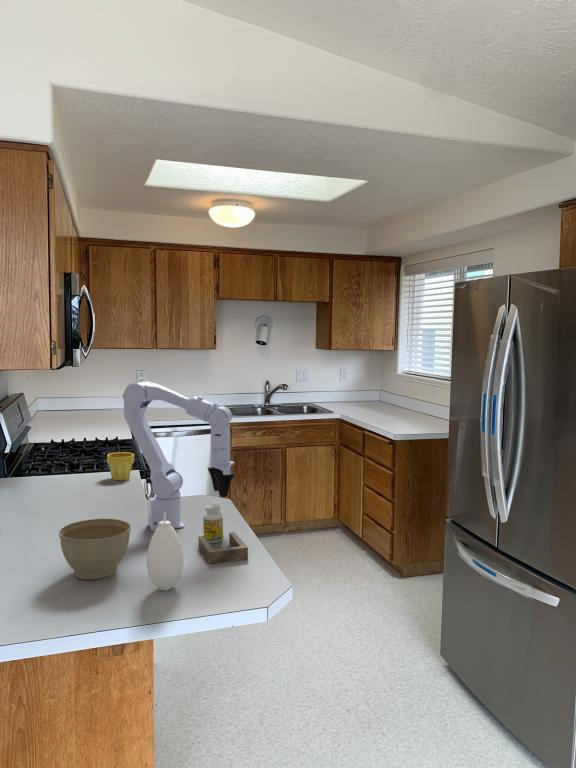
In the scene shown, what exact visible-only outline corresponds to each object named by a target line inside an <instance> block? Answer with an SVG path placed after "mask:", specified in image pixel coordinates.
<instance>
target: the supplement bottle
mask: <svg viewBox="0 0 576 768" xmlns="http://www.w3.org/2000/svg"><path fill="white" fill-rule="evenodd" d="M220 511H221V505H219V504H208V505H206V506H205V511H204V512H205V513H204V514H203V518H202V519H203V523H202V525H203V536H205V538H206V539H207V541H208V542H209V543H210V544H217V542H218V543H221V542H222V541H223V540H224V526H223V524H224V521H223V520H224V518H223V515H224V514H222V512H220ZM220 541H221V542H220Z"/></svg>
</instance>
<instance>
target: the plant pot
mask: <svg viewBox="0 0 576 768" xmlns="http://www.w3.org/2000/svg"><path fill="white" fill-rule="evenodd" d="M106 460H107V461H106V464H108V465H109V466H108V467H109V471H110V475H111V480H112V479H113V480H112V481H116V480H123V481H127V480H126V479H128V480H130V477H131V471H132V467H133V464H134V462H135V454H134V453H132V452H129V451H128V452H127V451H121V452H119V451H118V452H112V453H108V454H107V455H106Z"/></svg>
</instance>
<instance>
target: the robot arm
mask: <svg viewBox="0 0 576 768" xmlns="http://www.w3.org/2000/svg"><path fill="white" fill-rule="evenodd" d="M121 398H122V400H123V416H124V420H125V422H126V423H127V425H128V428H129V429H130V432H131V434H132V436H133V437H134V440H135V441H136V444H137V445H138V448H139V450H140V451H141V453H142V456H143V457H144V459H145V461H146V463H147V465H148V467H149V470H150V475H149V476H150V477H149V478H150V481H151V483H152V484H151V485H152V491H153V494H154V495H155V496H153V497H149V498H148V502H147V508H148V509H147V511H148V513H147V514H148V516H147V523H148V526H149V528H150V530H151V532H155V531H156V529H157V528H158V527H159V522H161V521H164V510H165V513H166V521H170V522H171V526H172V527H173V528H174V529H179V528H180V529H181V528H184V527H185V525H184V523H183V522H182V520H181V519H182V518H181V517H182V516H181V515H182V514H181V512H182V509H181V504H182V503H181V502H182V501H181V491H180V489H181V488H182V486H183V483H184V479H183V476H182V474H181V473H179V472H178V470H176V469H175V467H174V465H173V464H171V463H170V462H169V461H168V460H167V458H166V456H165V454H164V453H163V450H162V448H161V447H160V445H159V442H158V441H157V439H156V436H155V435H154V432H153V431H152V428H151V426H150V424H149V423H148V421H147V418H146V417H145V414H146V411H147V409H148V406H149V404H150V403H151V402H152V401H162V402H165V403H168V404H171V405H174V406H177V407H179V408H183V409H184V410H185V412H186V414H187V415H188V416H191V417H193V418H196V419H197V420H200V421H203V422H205V423H208V424H209V426H210V462H209V467H207V471H208V472H209V473H208V474H209V475H210V477H211V478H210V479H211V483H212V488H213V491H214V492H218V495H219V497H220V498H226V497H228V495H229V491H230V486H231V483H232V481H233V478H234V477H235V473H234V472H231V467H232V466H234V465H235V462H234V461H233V460H231V424H230V423H231V422H232V419H233V413H232V411H231V409H230V408H229V407H227V406H225V405H219V404H218V403H217V402H211V401H208V400H205V399H204V396H201V395H198V396H196V395H195V396H192V397H190V398H189V397H187V396H185V395H182V394H180V393H178V392H176V391H174V390H171V389H169V388H167V387H165V386H163V385H161V384H158V383H155V382H151V381H149V380H143V381H140V382H132V383H129V384H127V386H126V387H125V388H124V391H123V394H122V396H121Z"/></svg>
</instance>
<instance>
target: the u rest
mask: <svg viewBox="0 0 576 768" xmlns="http://www.w3.org/2000/svg"><path fill="white" fill-rule="evenodd" d="M228 543H230V544H231V545H230V544H229V545H230V547H223V548H217V549H214V548H213V546H212V545H211V543H209V542H208V541H207V539H206V538H205V536H204V535H198V549H199V548H200V549H199V550H200V552H201V553H202V555H203V556H204V558H205V560H206V559H207V560H206V561H207V563H208V562H209V563H208V564H209V565H212V564H211V563H215V564H220V563H219V562H222V563H226V562H225V561H229V562H232V561H231V560H236V561H239V560H238V559H244V560H246V559H245V558H248V559H249V547H248V546H247V544H245V542H244V541H243V540H242V539H241V537H239V536H238V534H237V533H236V532H235V531H232V532H231V531H230V532H229V533H228Z"/></svg>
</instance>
